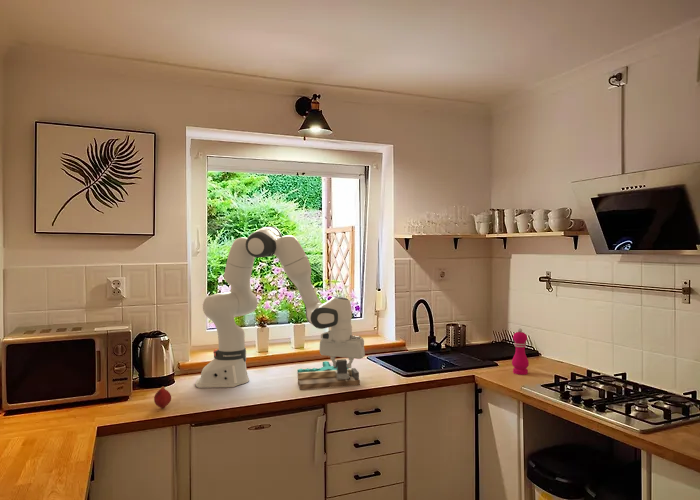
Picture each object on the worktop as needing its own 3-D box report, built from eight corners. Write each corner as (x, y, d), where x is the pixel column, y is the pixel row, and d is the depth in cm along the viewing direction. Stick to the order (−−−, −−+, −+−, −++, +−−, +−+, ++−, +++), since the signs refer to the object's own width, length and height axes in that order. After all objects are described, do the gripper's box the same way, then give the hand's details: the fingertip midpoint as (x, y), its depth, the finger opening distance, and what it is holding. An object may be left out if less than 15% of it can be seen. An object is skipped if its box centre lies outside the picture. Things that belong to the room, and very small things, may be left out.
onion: (161, 412, 186) (160, 389, 186) (151, 409, 189) (150, 387, 189) (174, 407, 191) (174, 385, 191) (164, 405, 194) (163, 383, 194)
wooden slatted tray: (300, 389, 212) (299, 377, 212) (297, 382, 222) (297, 371, 222) (360, 385, 217) (359, 373, 216) (355, 378, 226) (354, 367, 226)
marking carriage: (337, 379, 217) (336, 362, 217) (334, 376, 223) (334, 359, 222) (350, 378, 218) (350, 361, 218) (347, 375, 224) (347, 358, 224)
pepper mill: (511, 374, 230) (510, 329, 229) (512, 370, 236) (512, 326, 236) (528, 375, 227) (528, 330, 227) (529, 371, 234) (528, 327, 233)
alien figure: (297, 374, 237) (331, 381, 225) (297, 369, 237) (331, 376, 225) (325, 365, 253) (358, 371, 241) (325, 361, 253) (358, 366, 241)
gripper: (367, 335, 218) (367, 367, 218) (324, 332, 227) (325, 363, 228) (360, 337, 213) (361, 371, 213) (317, 334, 222) (317, 366, 222)
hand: (342, 367), depth 220 cm, fingers open, 5 cm apart
